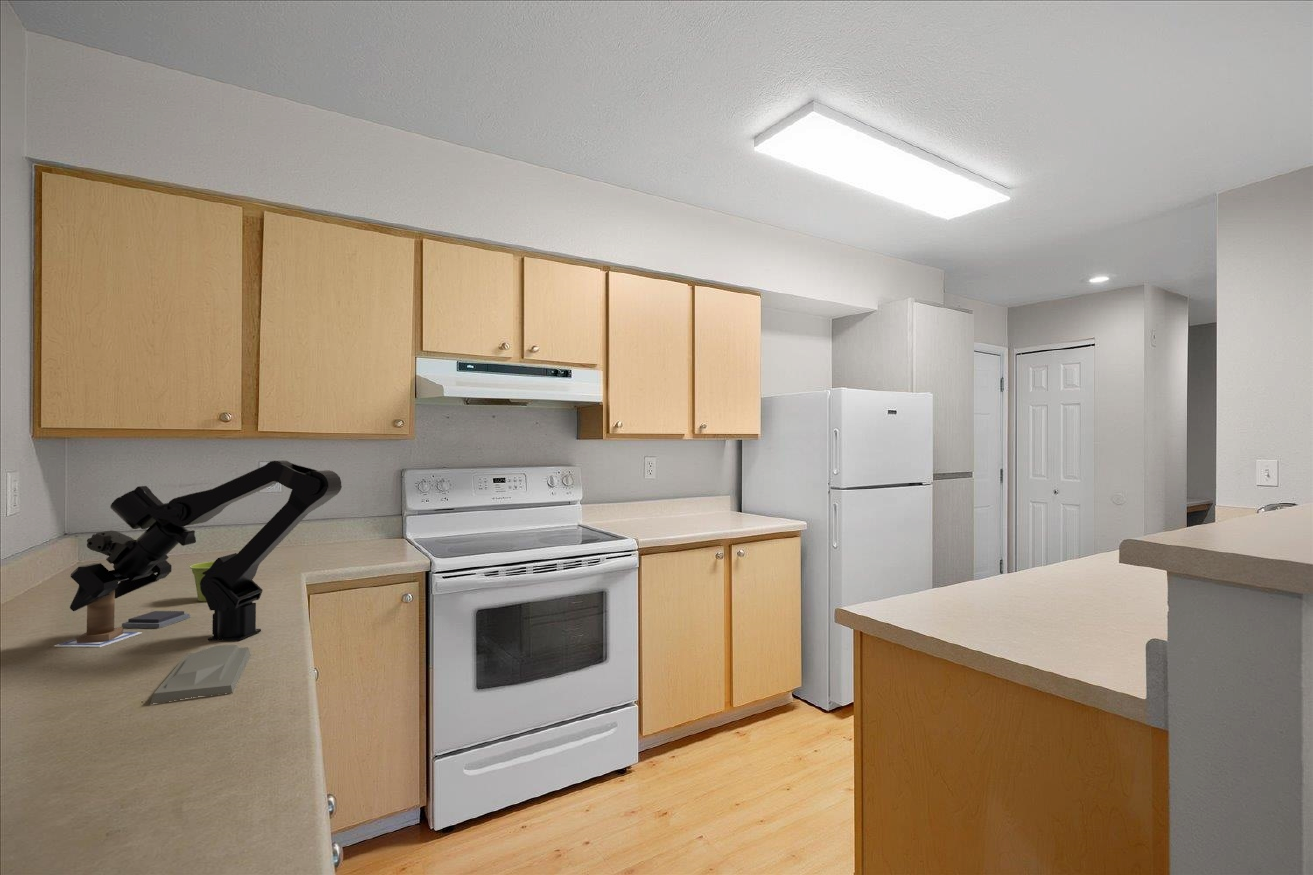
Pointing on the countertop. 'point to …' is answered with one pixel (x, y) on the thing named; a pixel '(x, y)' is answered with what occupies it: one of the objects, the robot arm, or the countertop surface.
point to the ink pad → (156, 619)
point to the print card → (97, 644)
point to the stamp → (101, 621)
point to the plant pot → (200, 576)
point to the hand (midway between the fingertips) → (92, 603)
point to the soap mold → (204, 674)
